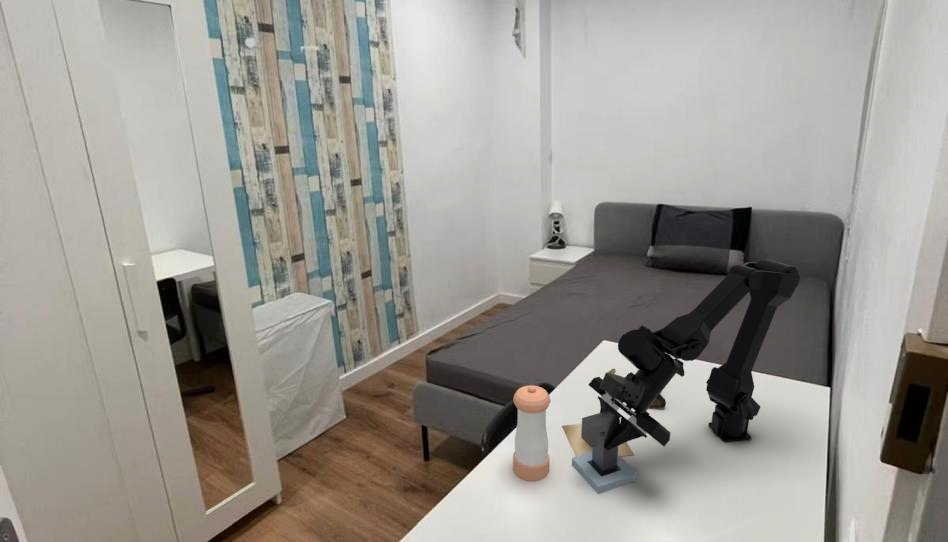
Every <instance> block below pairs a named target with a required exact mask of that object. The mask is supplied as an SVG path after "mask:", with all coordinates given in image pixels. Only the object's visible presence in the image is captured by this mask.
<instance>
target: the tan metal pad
mask: <svg viewBox="0 0 948 542" xmlns="http://www.w3.org/2000/svg"><path fill="white" fill-rule="evenodd" d="M561 427H562V429H563V431H564V434H565V436H566V438H567V440H568V443H569V445H570V446H571V449H572V451H573V453H574V456H575V457H577V456H580V455H583V454H587V453H590V452H592V450H593V448H591V447H590V446H589V445H588V444H587V443H586V442H585V441H584V440H583V439H582V438H581V431H582V423H578V424H577V423H575V424H567V425H561ZM618 455H619V456H620V457H621V458H622V457H629V456H631V457H632V456H635V454H634V452H633V450H632V449H631V447H630V446H629V444H628V442H626V443H623V444H621V445H619V446H618Z"/></svg>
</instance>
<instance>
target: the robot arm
mask: <svg viewBox="0 0 948 542" xmlns="http://www.w3.org/2000/svg"><path fill="white" fill-rule="evenodd" d="M800 279H801V275H800V274H799V271H798V269H797V268H796V267H795V266H793V265H790V264H786V263H783V262H778V261H775V260H772V259H769V258H763V259H760V260H758V261H757V262H756V261H755V262H745V263H743V264H735V265H732V266H731V268H730V269H729V271H728V274H727V275H726V276H725V277H724V278H723V279H722V281H720V282H719V283H718V285H716V287H715V288H713V290H712V291H710V292H709V293H708V294H707V296H705V298H704V299H703V300H701V302H700V303H699V304H698V305H697V306H696V307H695V308H694V309H693V310H691V311H690V312H689V313H686V314H684V315H680V316H678V317H676V318H674V319H673V320H672V321H671V322H669V323H667V324H666V325H665V326H664V327H662V328H660V329H657V330H655V331H652V330H651V329H650V328H648V327H646V326H644V325H640V327H639V328H637V329H632V330H629V331H627V332H626V333H624V334H622V335H621V337H620V338H619V341H618V343H617V350H618V352H619V353H620V354H621V355H622V356H623V357H624V358H625V359H626V360H627V361H628V362H629V363H631V365H633V367H635V368H636V369H637V371H636V372H635V374H634V373H633V372H631V371H630V373H627V374H626V376H621V375H618V374H616V373H614V374H611V373H608V371H607V372H605V374H604V376H603V378H601V377H600V376H596V377H593V378H592V380H590V382H589V383H588V386H589V387H590V388H591V389H592V390H594V391H595V392H596V393H598V394H599V395H600V396H599V395H598V396H597V399H598V401H599V406H600V409H599V410H600V411H599V413H601V412H605V411H608V410H609V411H611V412H612V413H613V414H614V415H615V416H617V417H618V418H619V419H620V425H619V427H618V428H617V429H616V431H615V432H614V433H613V435H612V436H611V437H610V438H609V440H608V441H607V443H606V444H605V446H604V448H605V449H606V450H610V449H612V448H615V447H617V446H619V445H621V444H623V443H626V442H627V443H628V442H630V441H633V440H636V439H638V438H642V437H644V438H645V439H646V438H648V435H649V436H651V438H652V439H654V440H655V441H656V442H657V443H659V444H660V445H661V446H662V447H663V448H665V446H666V445H667V444H669V442H670V440H671V431H669V429H667V428H666V427H665V426H663V425H662V424H661V423H660V422H659V421H658V420H656V419H655V418H654V417H652V416H651V415H650V413H649V412H648V409H649V408H651V406H650V405H651V404H652V403H653V402H654V400H655V399H657V400H658V401H660V400H661V399H662V398H664V397H663V396H662V392H663V390H664V389H665V388H666V387H667V385H668V384H669V383H670V381H672V379H673V378H674V377H675V375H676V374H677V375H678V376H680V377H684V376H685V370H684V362H688V361H689V362H690V361H691V362H692V361H695V360H696V359H697V358H699V357H700V356H701V354H702V353H703V351H704V350H705V348H706V347H707V346H708V345H709V343H710V339H711V333H712V332H713V330H714V328H715V327H716V326H717V325H719V323H720V322H721V321H723V319H724V318H725V317H726V316H727V315H728V314H730V312H731V311H732V310H733V309H734V308H735V307H736V306H737V305H738V303H740V301H742V300H743V299H744V297H745V296H746V295H748V293H749V297H750V301H749V303H748V305H747V307H746V310H745V313H744V316H743V319H742V321H741V323H740V326H739V328H738V331H737V334H736V336H735V339H734V341H733V345H732V346H731V349H730V351H729V355H728V357H727V359H726V362H724V363H723V364H721V365H720V366H719V367H716V366H714V367H712V369H711V370H710V375H709V377H708V379H707V380H706V382H705V383H706V388H705V389H706V392H707V395H708V398H709V401H711V402H713V403H714V404H715V406H714V411H713V412H712V416H711V422H708V424H707V425H708V427H709V428H710V429H711V430H712V431H713V432H714V433H715V434H716V436H718V437H719V439H720V440H721V441H723V442H725V443H729V442H738V441H748V440H751V439H752V435H750V433H748V430H749V422H750V421H753V420H754V417H756V416H758V414H759V412H760V409H761V405H760V404H759V403H758V402H757V401H756V400H755V399H754V398H753V394H754V390H755V384H754V383H755V382H754V377H753V374H752V371H753V368H754V366H755V364H756V361H757V358H758V356H759V354H760V352H761V351H760V350H761V348H762V346H763V343H764V341H765V338H766V336H767V334H768V331H769V329H770V326H771V323H772V321H773V318H774V317H775V313H776V311H777V309H778V307H780V306H782V305H783V304H784V303H785V302H787V301H788V300H790V299H791V298H792V296H793V294H794V293H795V290H796V289H797V287H798V286H799V284H800V282H801V281H800ZM680 359H681V360H680ZM682 360H683V361H684V362H683V361H682ZM619 409H621V410H622V411H623V412H624V413H626V415H628V416H629V417H628V418H626V417H625V416H624V415H622V414H621V413H620V412H619V411H618V410H619ZM632 409H633V410H634V411H633V410H632ZM647 434H648V435H647Z"/></svg>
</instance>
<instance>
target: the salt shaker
mask: <svg viewBox="0 0 948 542" xmlns="http://www.w3.org/2000/svg"><path fill="white" fill-rule="evenodd" d="M550 397H551V396H550V395H549V393H548V392H547V390H546V389H544V388H543V387H540V386H538V385H524V386H521V387H520V388H518V389H517V390H516V392H515V393H514V395H513V403H514V405H515V408H516V409H517V425H516V429H515V437H514V452H513V453H512V470H513V472H514V475H516V476H517V478H519V479H521V480H523V481H526V482H537V481H539V482H540V481H542V480H544V479H545V478H546V477H548V475H549V473H550V455H549V453H548V452H549V438H548V431H547V422H546V421H547V419H546V417H547V412H546V411H547V409H548V408H549V406H550V404H551V398H550Z"/></svg>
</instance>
